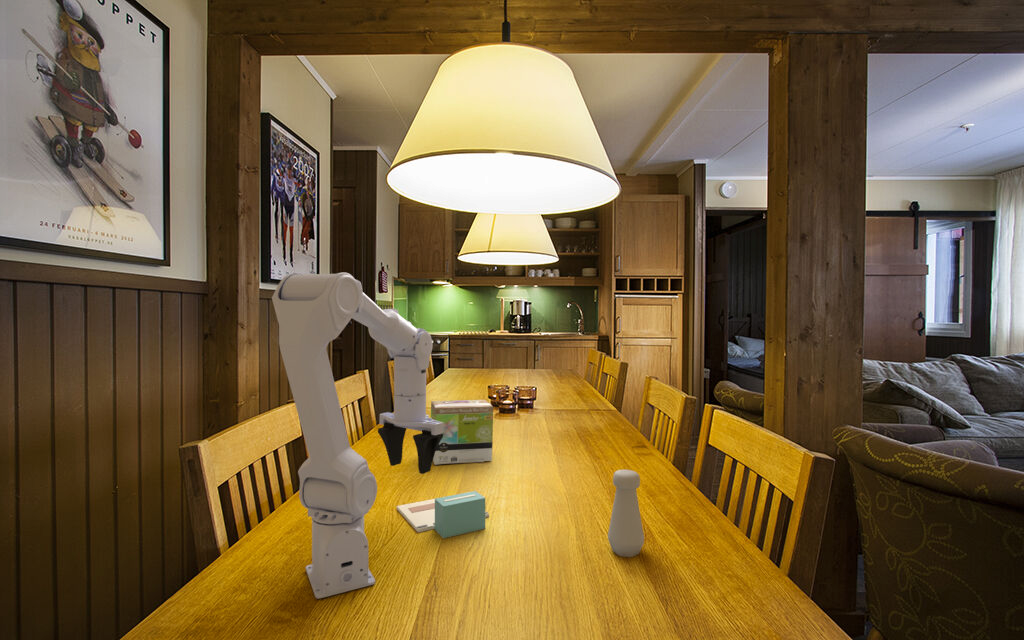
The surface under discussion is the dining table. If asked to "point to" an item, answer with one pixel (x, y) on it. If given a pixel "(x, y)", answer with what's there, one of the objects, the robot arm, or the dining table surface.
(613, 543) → the salt shaker
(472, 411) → the tea box
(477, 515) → the teal rectangular block
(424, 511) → the white card
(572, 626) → the dining table surface
